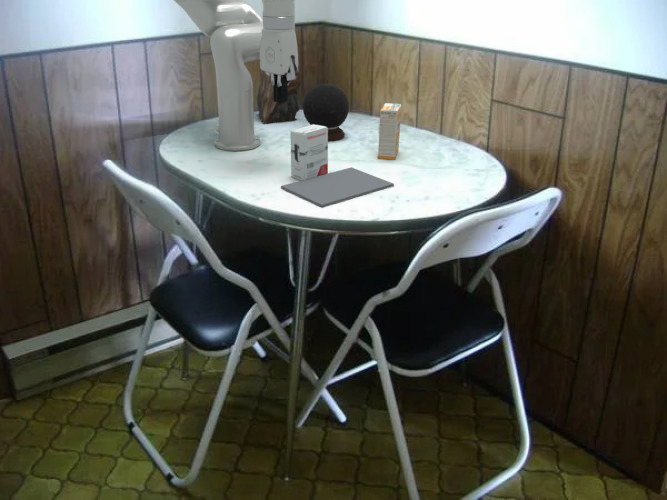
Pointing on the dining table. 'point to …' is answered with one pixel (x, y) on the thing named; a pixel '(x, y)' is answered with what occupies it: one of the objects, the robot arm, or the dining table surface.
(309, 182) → the mat
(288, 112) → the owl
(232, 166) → the dining table surface
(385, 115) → the supplement box
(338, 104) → the ball on wooden base
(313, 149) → the ink box
